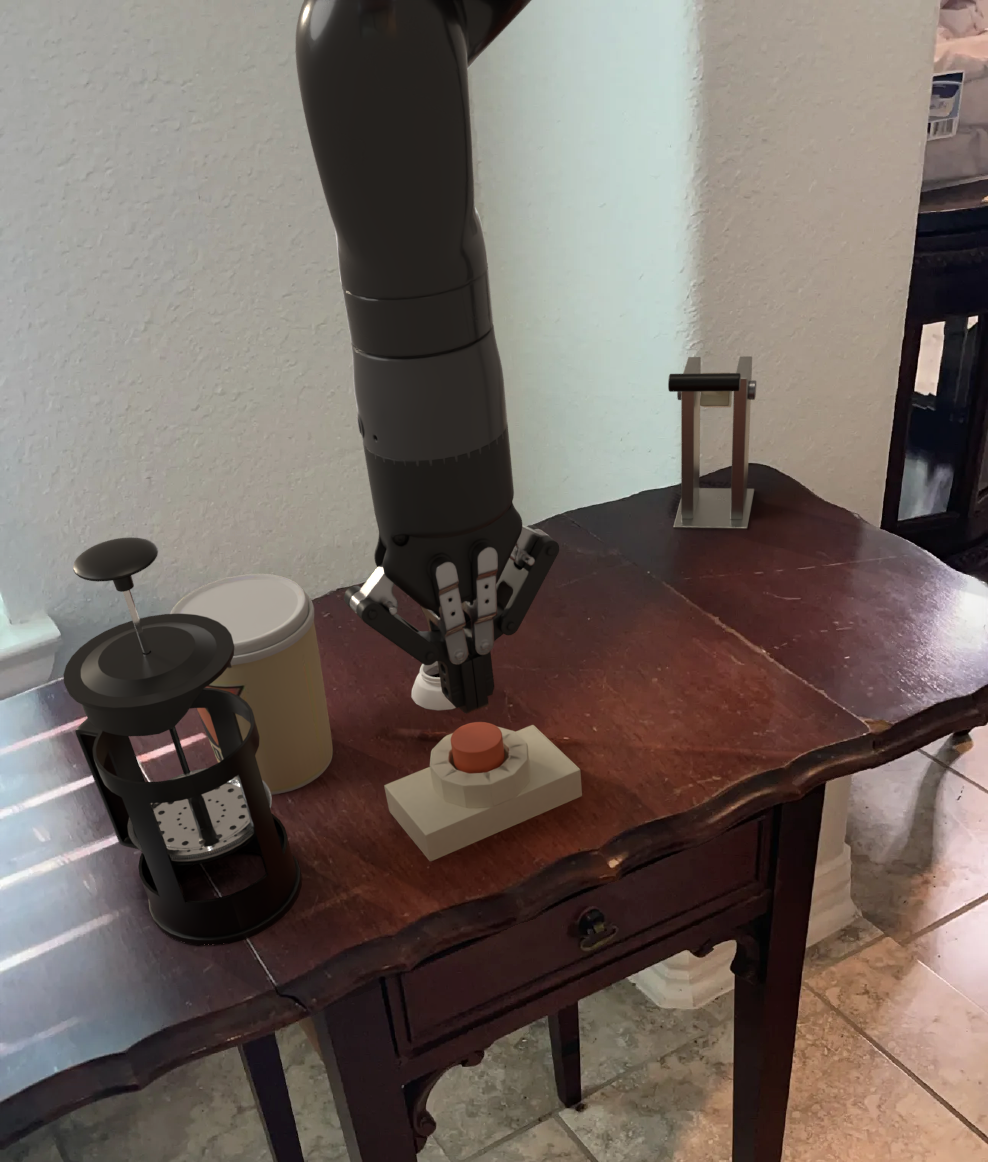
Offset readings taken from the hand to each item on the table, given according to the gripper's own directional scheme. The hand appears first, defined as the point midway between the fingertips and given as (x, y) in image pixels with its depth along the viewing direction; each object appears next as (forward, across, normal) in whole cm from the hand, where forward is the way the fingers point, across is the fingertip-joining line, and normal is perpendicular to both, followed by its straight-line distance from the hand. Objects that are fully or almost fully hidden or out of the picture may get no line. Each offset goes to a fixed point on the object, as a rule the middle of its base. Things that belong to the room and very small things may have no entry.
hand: (470, 703), depth 76 cm
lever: (-4, +31, +18) cm, 36 cm away
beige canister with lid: (+8, -9, +13) cm, 18 cm away
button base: (+8, 0, 0) cm, 8 cm away
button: (+4, 0, 0) cm, 4 cm away
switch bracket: (+8, +34, +22) cm, 41 cm away
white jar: (+8, +3, +12) cm, 15 cm away
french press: (+8, -17, +2) cm, 19 cm away
